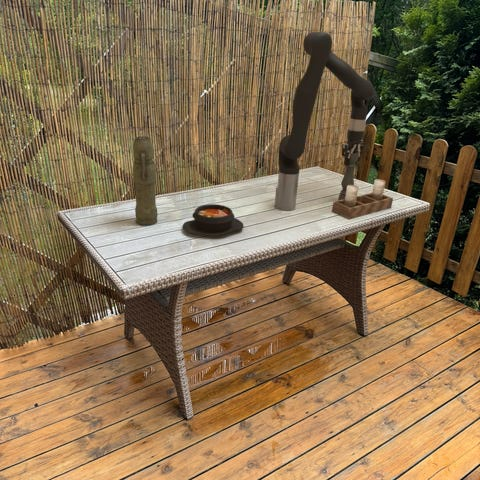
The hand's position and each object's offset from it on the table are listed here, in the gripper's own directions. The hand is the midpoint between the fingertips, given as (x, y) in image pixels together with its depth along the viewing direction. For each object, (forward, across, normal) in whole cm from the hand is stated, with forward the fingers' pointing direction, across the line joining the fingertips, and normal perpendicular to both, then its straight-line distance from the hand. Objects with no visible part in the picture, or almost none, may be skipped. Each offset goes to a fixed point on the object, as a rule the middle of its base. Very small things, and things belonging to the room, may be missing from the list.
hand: (350, 164), depth 202 cm
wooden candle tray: (+19, +1, +12) cm, 22 cm away
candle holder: (+19, 0, 0) cm, 19 cm away
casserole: (+19, +74, -3) cm, 77 cm away
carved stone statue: (+19, +95, -23) cm, 99 cm away
